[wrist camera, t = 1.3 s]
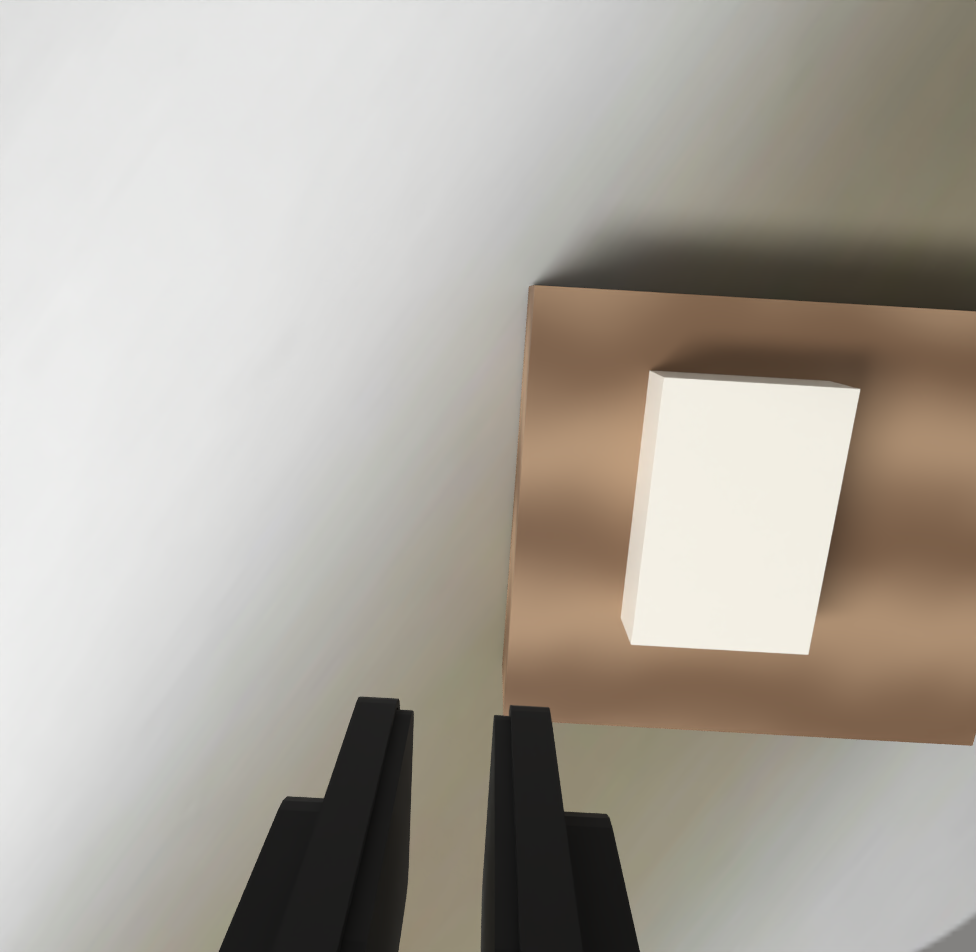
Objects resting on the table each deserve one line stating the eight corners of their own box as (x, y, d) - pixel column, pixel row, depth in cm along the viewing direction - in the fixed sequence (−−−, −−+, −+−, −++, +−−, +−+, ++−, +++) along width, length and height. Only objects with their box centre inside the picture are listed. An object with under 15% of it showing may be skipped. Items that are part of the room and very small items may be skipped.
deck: (528, 286, 26) (535, 285, 22) (1001, 314, 26) (1089, 318, 22) (502, 664, 30) (503, 719, 26) (911, 687, 30) (972, 745, 26)
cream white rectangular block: (649, 370, 23) (663, 377, 21) (829, 380, 23) (860, 389, 21) (620, 617, 25) (631, 644, 23) (784, 627, 25) (808, 654, 23)
